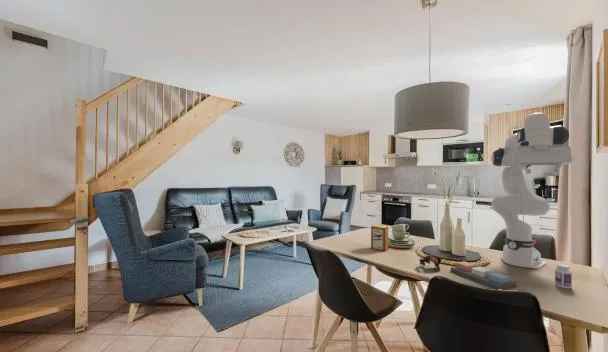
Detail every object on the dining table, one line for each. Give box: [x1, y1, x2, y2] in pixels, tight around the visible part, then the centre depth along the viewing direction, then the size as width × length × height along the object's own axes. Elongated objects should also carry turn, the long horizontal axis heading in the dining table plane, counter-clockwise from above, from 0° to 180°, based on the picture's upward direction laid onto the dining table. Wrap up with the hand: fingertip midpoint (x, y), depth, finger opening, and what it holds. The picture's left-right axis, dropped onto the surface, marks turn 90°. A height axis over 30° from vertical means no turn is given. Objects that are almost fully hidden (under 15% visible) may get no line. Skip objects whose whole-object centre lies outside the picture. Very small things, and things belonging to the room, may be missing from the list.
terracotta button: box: [456, 260, 476, 272], centre depth 135 cm, size 6×6×3 cm
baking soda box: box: [370, 224, 389, 252], centre depth 175 cm, size 10×6×16 cm
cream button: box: [472, 266, 492, 278], centre depth 127 cm, size 6×6×3 cm
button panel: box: [450, 265, 517, 290], centre depth 127 cm, size 12×24×2 cm, turn 22°
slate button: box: [488, 271, 511, 284], centre depth 120 cm, size 6×6×3 cm
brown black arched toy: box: [418, 254, 442, 273], centre depth 141 cm, size 12×10×8 cm
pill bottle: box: [554, 263, 573, 289], centre depth 118 cm, size 5×5×10 cm
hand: (542, 173), depth 114 cm, fingers open, 8 cm apart
